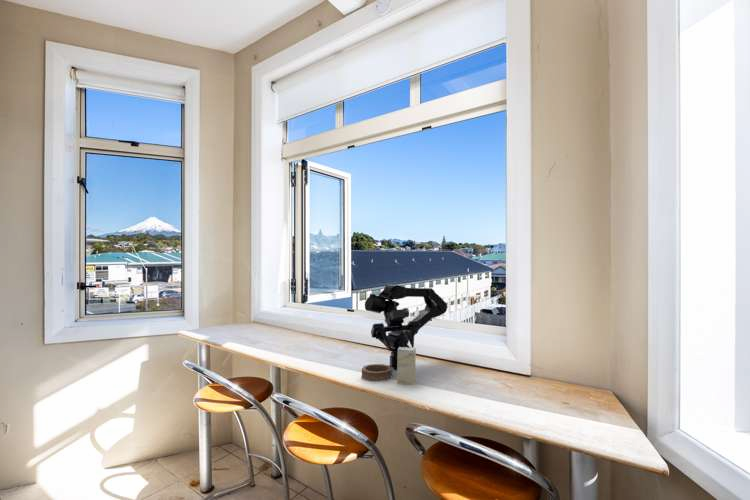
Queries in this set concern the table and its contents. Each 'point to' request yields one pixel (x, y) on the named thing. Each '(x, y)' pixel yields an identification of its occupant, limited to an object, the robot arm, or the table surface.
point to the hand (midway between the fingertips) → (401, 348)
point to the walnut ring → (377, 372)
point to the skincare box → (406, 365)
